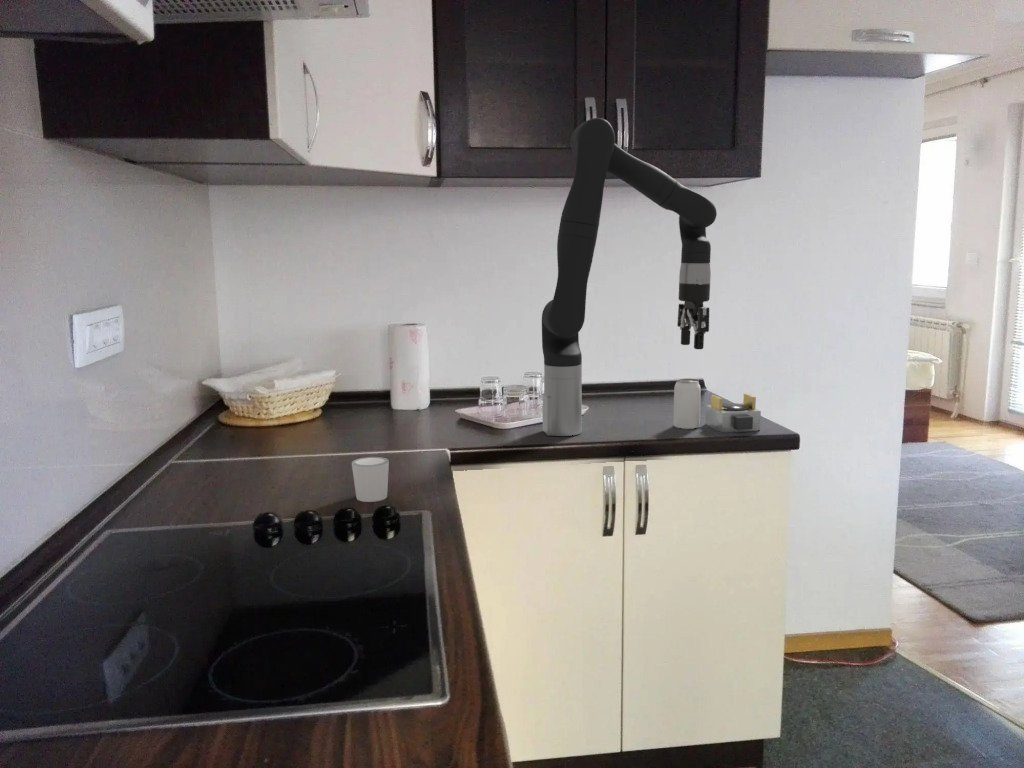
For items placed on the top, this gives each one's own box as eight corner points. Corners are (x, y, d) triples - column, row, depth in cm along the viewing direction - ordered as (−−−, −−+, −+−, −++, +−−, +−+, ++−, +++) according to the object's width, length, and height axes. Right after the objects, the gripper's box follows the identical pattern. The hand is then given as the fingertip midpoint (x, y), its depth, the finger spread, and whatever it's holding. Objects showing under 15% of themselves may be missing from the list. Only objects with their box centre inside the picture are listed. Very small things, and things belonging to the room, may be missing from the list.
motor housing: (725, 434, 195) (726, 402, 194) (705, 423, 207) (706, 393, 206) (763, 432, 197) (765, 400, 196) (741, 422, 209) (742, 391, 207)
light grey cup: (379, 489, 155) (378, 454, 154) (397, 498, 149) (395, 461, 148) (347, 496, 151) (345, 460, 150) (363, 505, 145) (361, 468, 144)
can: (701, 429, 201) (703, 382, 199) (676, 429, 201) (677, 382, 199) (696, 424, 207) (697, 378, 205) (671, 424, 207) (672, 378, 205)
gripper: (669, 280, 204) (667, 343, 207) (691, 283, 191) (688, 350, 193) (697, 280, 206) (694, 343, 208) (721, 283, 192) (717, 350, 195)
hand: (691, 346), depth 201 cm, fingers open, 8 cm apart
